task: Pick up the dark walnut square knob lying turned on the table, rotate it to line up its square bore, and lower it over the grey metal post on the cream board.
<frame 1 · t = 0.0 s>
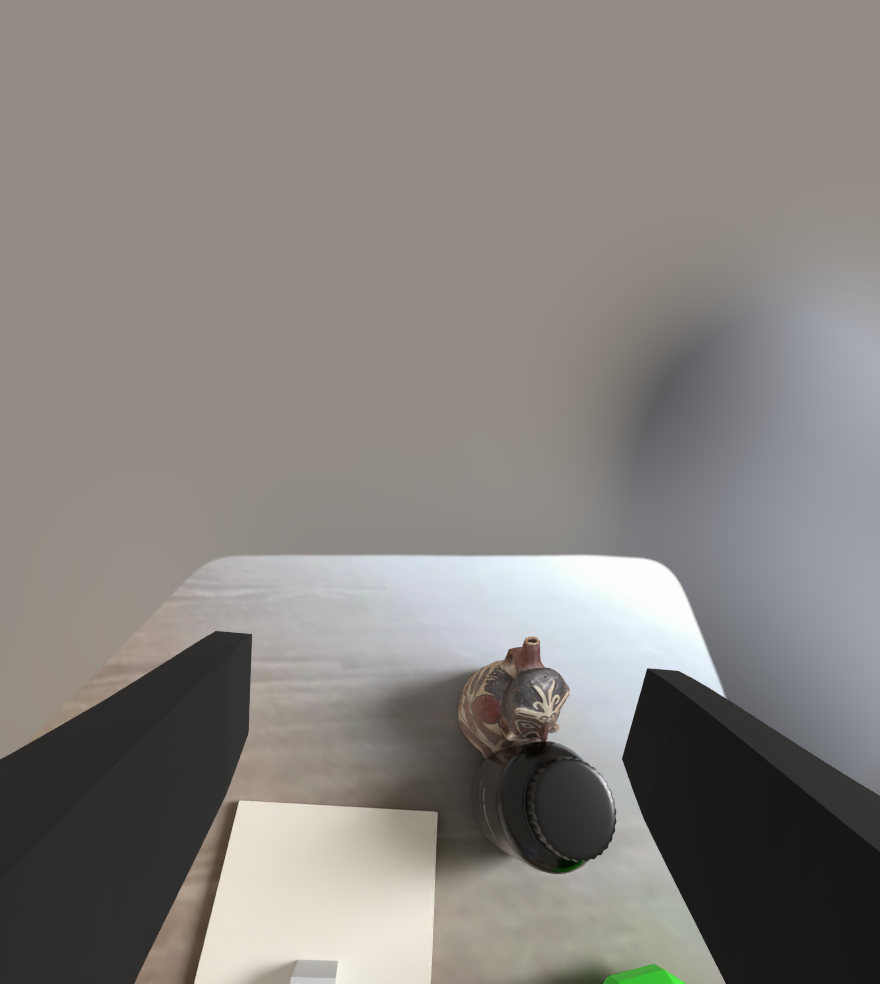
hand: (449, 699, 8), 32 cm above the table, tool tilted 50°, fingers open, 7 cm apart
figurine: (498, 713, 38), on the table, touching supplement bottle
supplement bottle: (513, 798, 35), on the table, touching figurine
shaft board: (316, 983, 28), on the table
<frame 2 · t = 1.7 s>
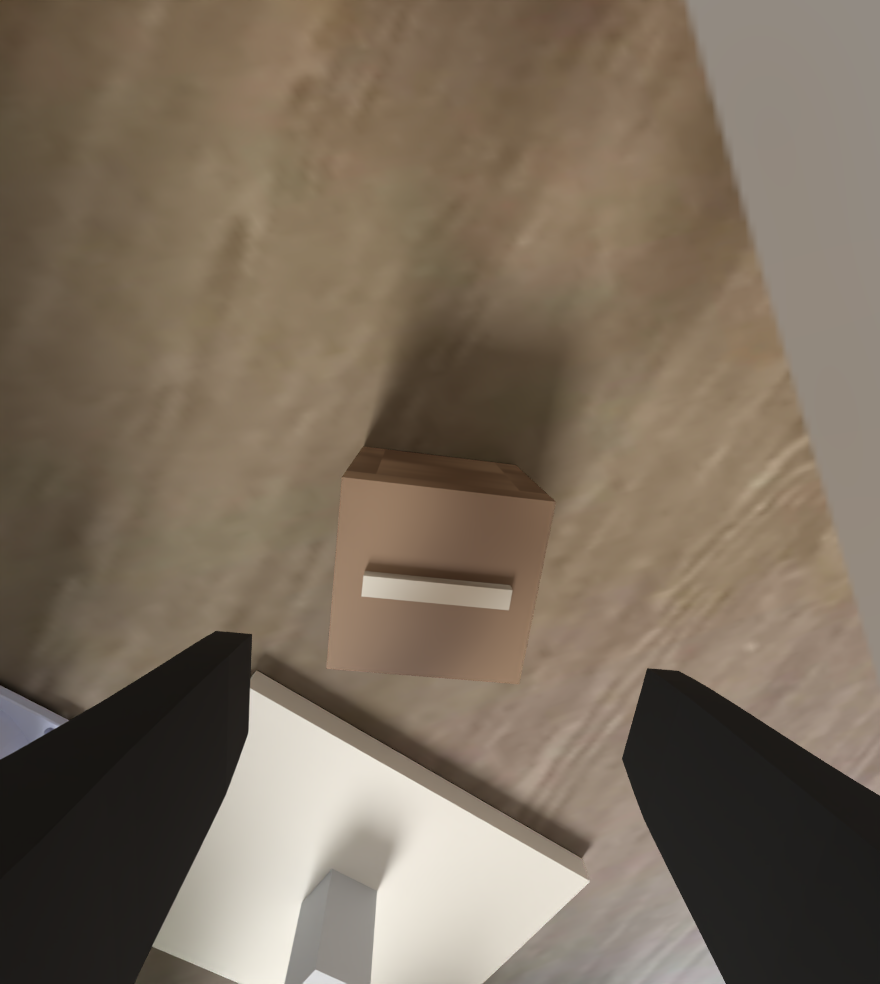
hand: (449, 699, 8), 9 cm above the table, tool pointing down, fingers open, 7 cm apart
walnut knob: (430, 528, 17), on the table
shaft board: (342, 873, 21), on the table
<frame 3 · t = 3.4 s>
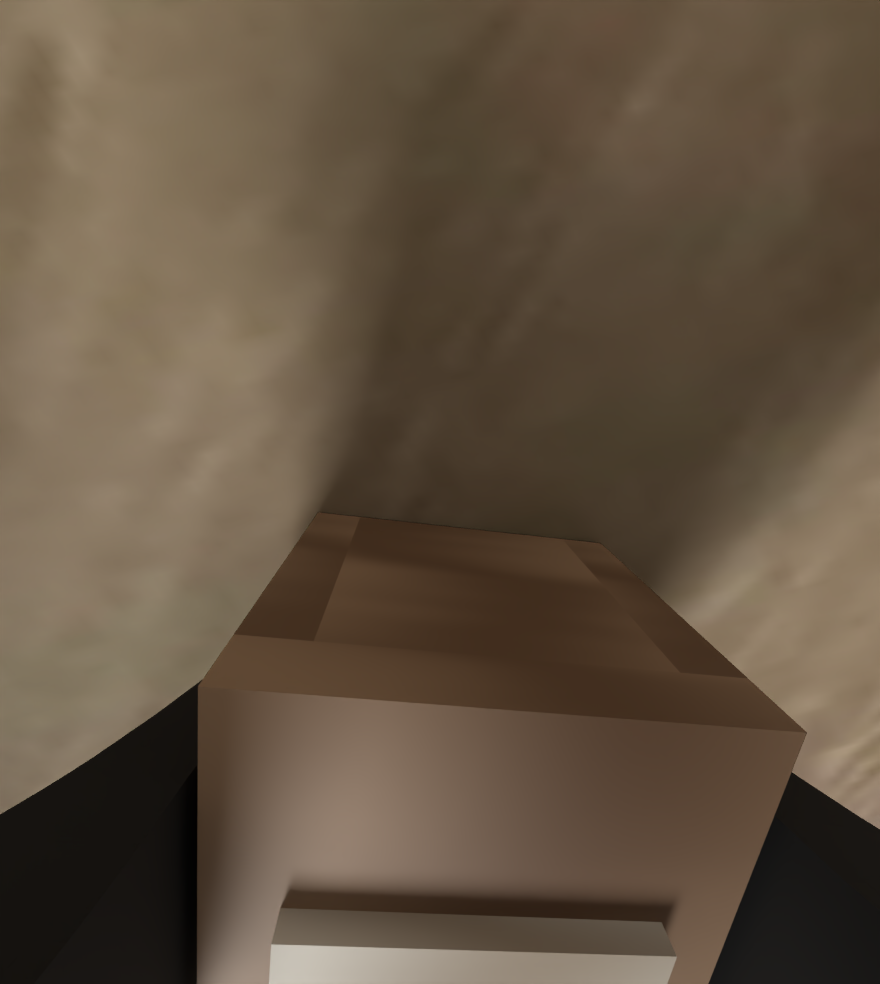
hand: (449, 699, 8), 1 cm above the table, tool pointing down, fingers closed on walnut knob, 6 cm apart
walnut knob: (443, 653, 10), on the table, touching gripper
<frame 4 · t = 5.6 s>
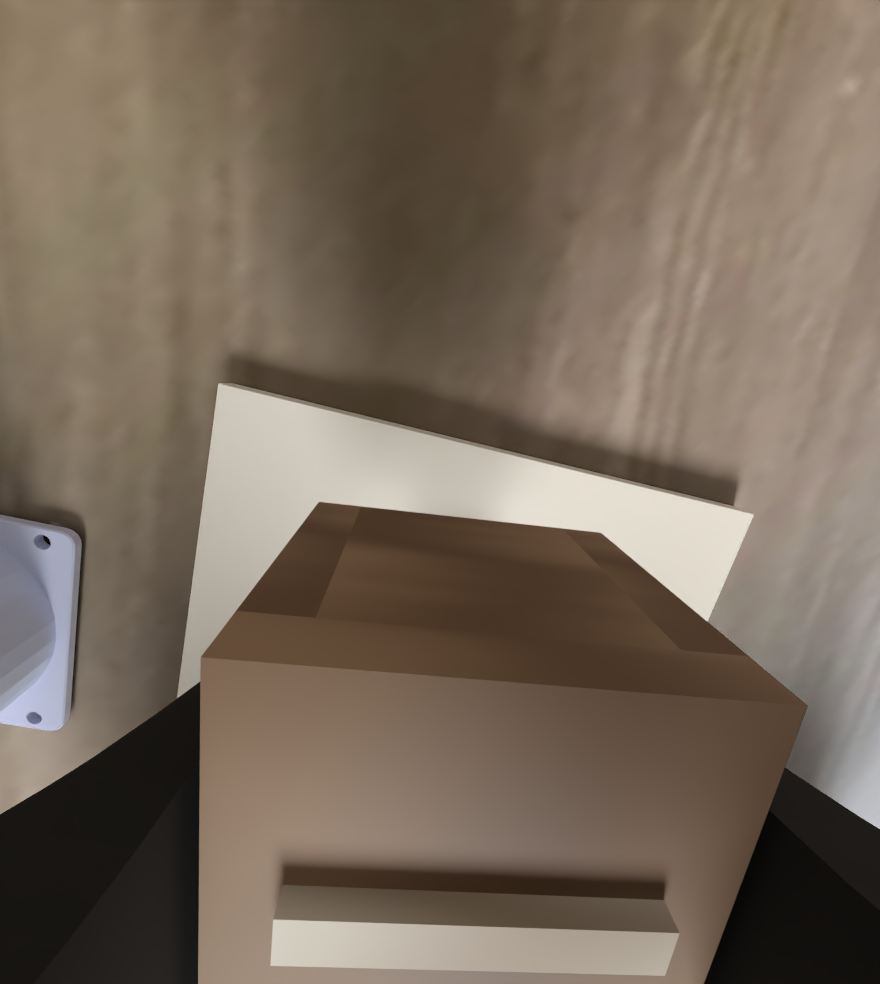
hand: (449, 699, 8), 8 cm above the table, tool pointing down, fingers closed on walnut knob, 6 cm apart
walnut knob: (444, 644, 10), point 7 cm above the table, touching gripper
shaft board: (448, 626, 17), on the table
when the fingers open (4 cm above the table, at t = 8.0 s): walnut knob drops 1 cm, resting on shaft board.
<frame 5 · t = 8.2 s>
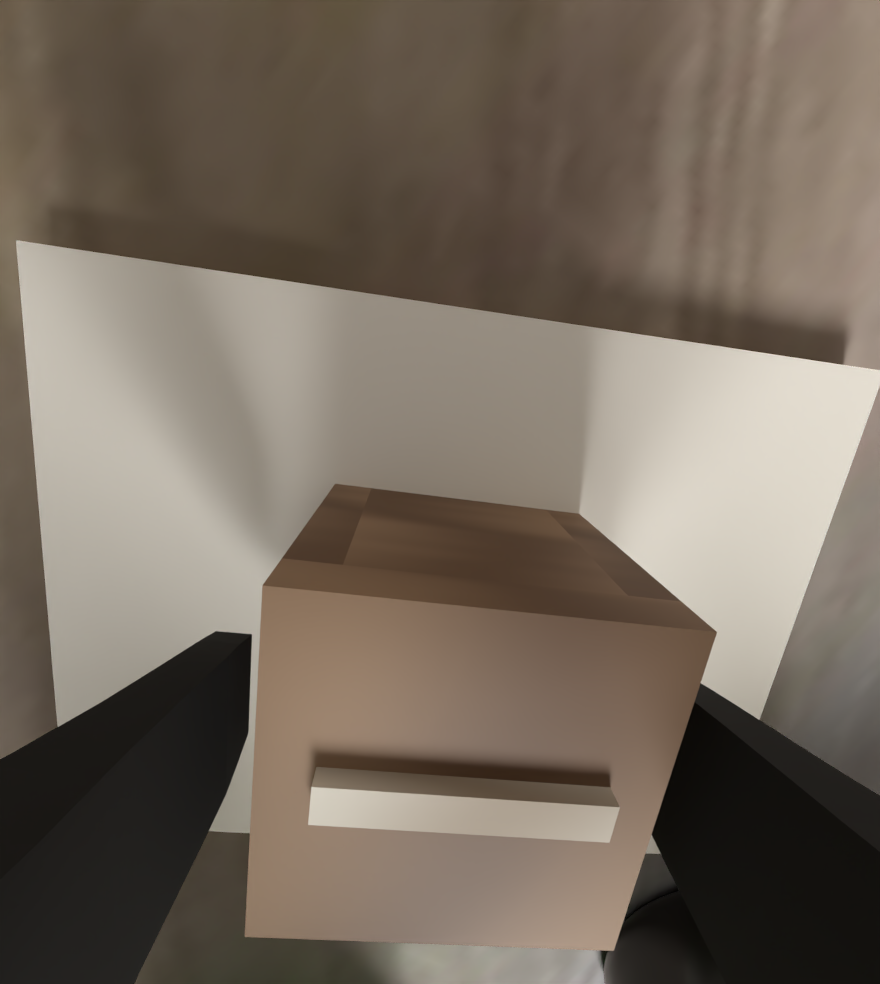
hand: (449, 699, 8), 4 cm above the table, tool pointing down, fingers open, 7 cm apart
supplement bottle: (689, 942, 16), on the table, touching figurine
walnut knob: (442, 610, 11), point 1 cm above the table, touching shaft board
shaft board: (438, 597, 12), on the table
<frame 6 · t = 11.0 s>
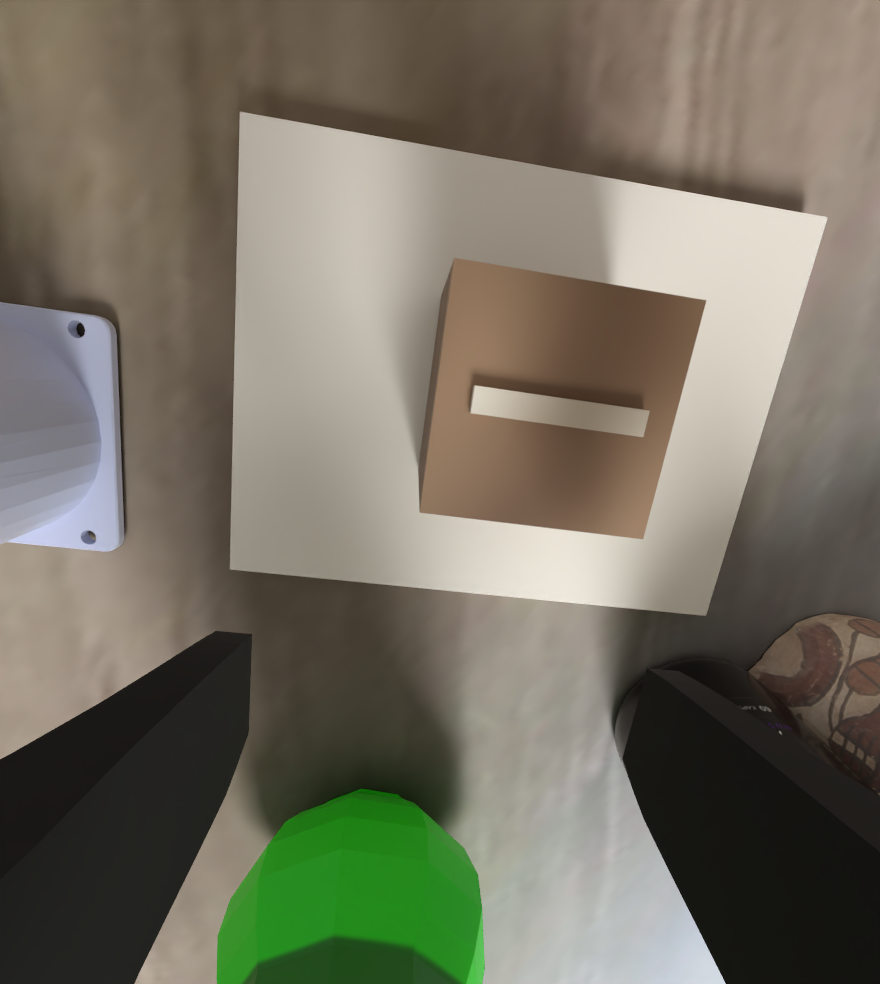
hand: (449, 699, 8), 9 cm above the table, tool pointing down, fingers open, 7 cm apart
figurine: (816, 680, 20), on the table, touching supplement bottle
supplement bottle: (681, 715, 20), on the table, touching figurine
walnut knob: (512, 398, 15), point 1 cm above the table, touching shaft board
plastic bottle: (368, 830, 21), on the table
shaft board: (504, 402, 16), on the table
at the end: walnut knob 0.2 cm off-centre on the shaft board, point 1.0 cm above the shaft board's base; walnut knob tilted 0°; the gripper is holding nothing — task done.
